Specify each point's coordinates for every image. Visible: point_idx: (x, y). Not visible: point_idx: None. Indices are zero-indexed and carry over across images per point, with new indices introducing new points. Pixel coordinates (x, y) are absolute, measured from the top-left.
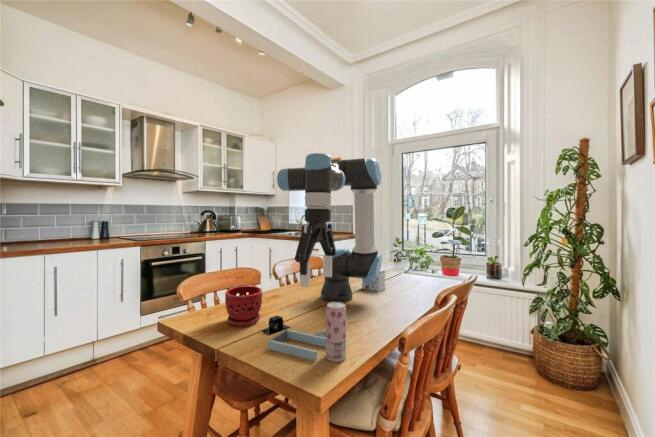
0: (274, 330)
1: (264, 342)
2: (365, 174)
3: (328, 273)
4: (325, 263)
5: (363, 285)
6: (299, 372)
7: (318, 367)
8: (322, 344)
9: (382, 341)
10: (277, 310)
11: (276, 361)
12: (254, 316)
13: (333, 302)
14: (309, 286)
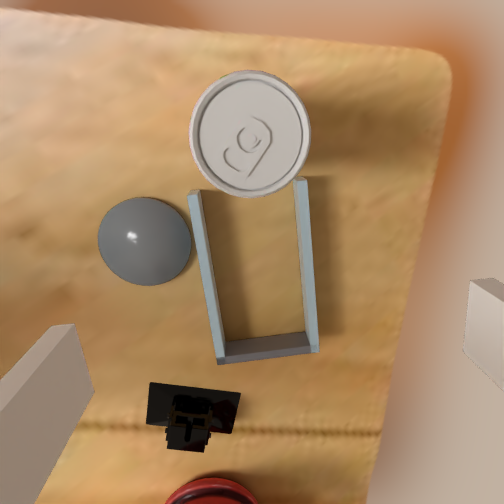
0: (210, 402)
1: (286, 372)
2: None
3: (66, 366)
4: (21, 485)
5: None
6: (380, 178)
7: (329, 146)
8: (203, 216)
9: (12, 32)
10: (69, 501)
11: (361, 271)
12: (207, 498)
13: (217, 181)
14: (477, 280)
